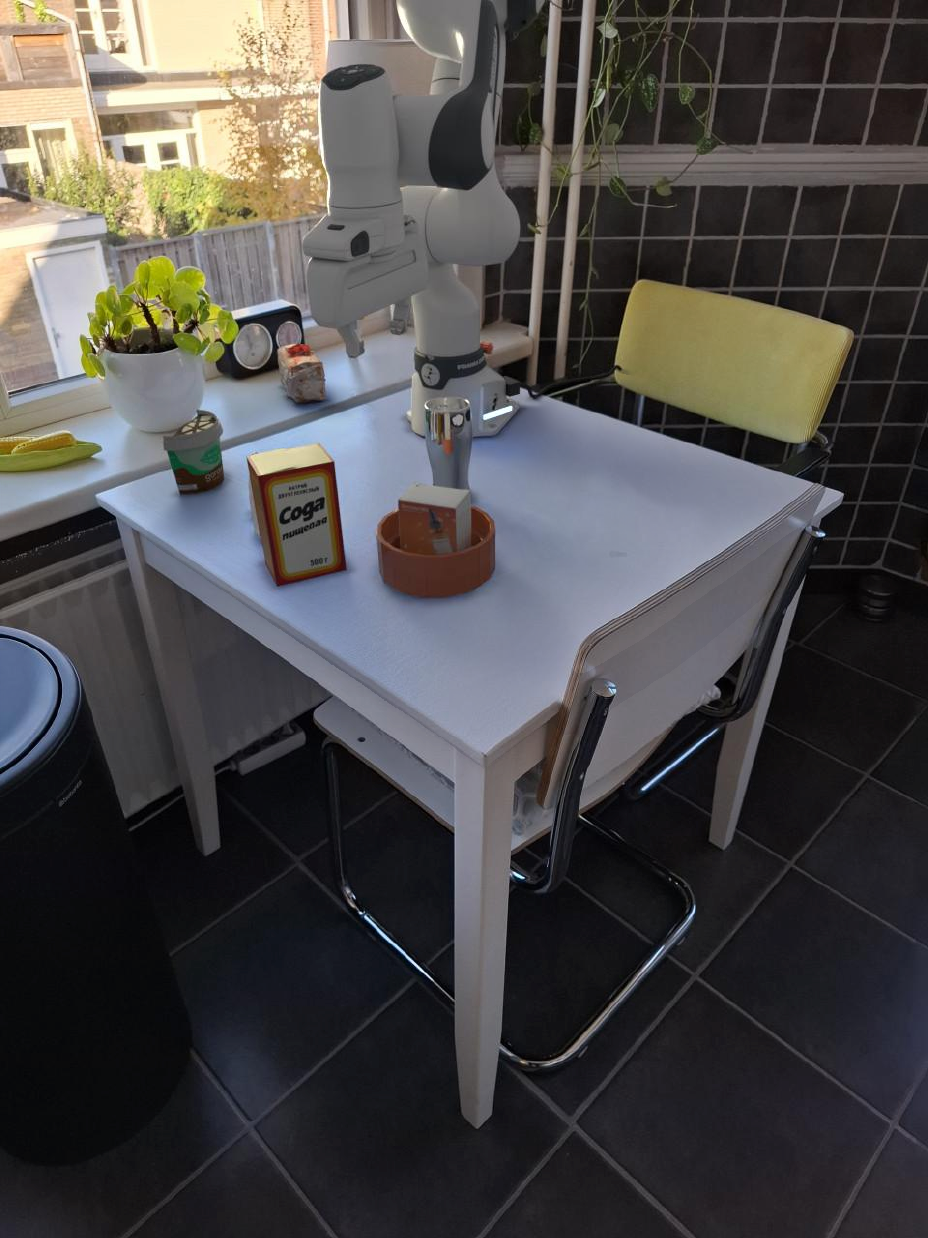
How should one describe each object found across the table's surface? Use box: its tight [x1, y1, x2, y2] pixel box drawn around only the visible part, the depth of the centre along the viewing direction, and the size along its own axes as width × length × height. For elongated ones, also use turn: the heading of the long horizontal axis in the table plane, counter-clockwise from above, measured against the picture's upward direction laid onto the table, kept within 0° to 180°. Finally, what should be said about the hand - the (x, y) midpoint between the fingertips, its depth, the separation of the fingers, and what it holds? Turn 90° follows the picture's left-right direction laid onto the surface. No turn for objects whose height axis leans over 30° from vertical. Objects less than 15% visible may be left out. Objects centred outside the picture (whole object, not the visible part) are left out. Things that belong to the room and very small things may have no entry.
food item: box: [277, 342, 327, 404], centre depth 171 cm, size 14×8×10 cm, turn 24°
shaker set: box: [248, 451, 261, 538], centre depth 123 cm, size 12×4×11 cm, turn 14°
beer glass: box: [424, 396, 473, 491], centre depth 129 cm, size 7×7×15 cm
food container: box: [162, 409, 225, 495], centre depth 137 cm, size 12×6×10 cm, turn 168°
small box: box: [397, 482, 472, 555], centre depth 112 cm, size 8×6×10 cm
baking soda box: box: [245, 442, 348, 587], centre depth 112 cm, size 10×6×16 cm
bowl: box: [375, 504, 496, 599], centre depth 113 cm, size 15×15×6 cm
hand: (378, 343), depth 111 cm, fingers open, 8 cm apart
